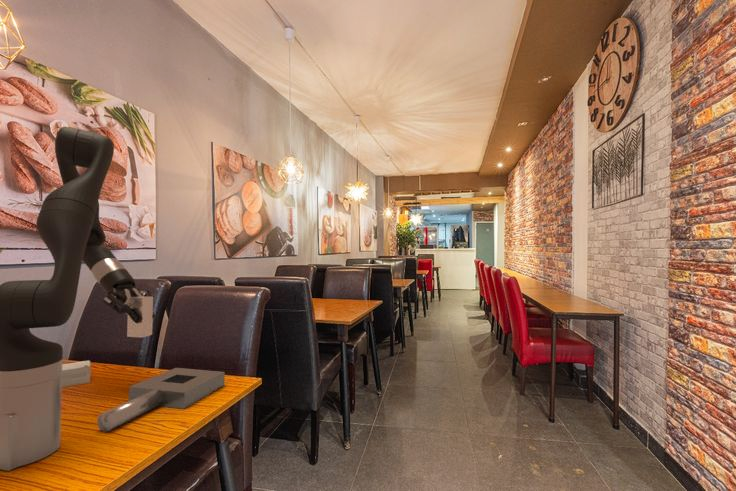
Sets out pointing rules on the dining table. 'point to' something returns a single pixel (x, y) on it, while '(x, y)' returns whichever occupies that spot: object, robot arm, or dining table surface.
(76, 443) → the dining table surface
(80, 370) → the small box
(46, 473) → the dining table surface
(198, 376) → the grey handled frame
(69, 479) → the dining table surface
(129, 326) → the upright grey pillar
